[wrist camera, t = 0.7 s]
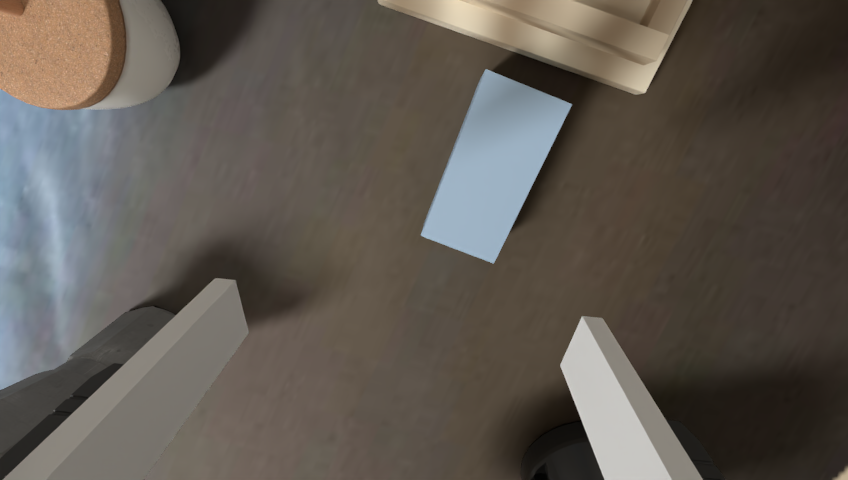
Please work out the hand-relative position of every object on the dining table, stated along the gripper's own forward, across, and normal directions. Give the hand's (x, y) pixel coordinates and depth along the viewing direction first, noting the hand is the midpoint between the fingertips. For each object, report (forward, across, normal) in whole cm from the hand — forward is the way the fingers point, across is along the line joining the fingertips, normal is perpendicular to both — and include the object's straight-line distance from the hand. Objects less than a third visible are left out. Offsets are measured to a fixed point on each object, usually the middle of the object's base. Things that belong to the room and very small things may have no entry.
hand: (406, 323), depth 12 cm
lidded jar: (+20, +24, -8) cm, 32 cm away
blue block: (+17, -5, -2) cm, 18 cm away
